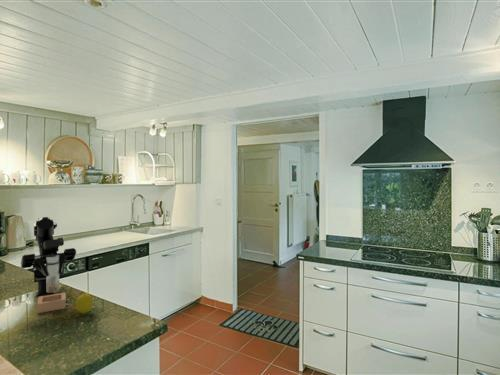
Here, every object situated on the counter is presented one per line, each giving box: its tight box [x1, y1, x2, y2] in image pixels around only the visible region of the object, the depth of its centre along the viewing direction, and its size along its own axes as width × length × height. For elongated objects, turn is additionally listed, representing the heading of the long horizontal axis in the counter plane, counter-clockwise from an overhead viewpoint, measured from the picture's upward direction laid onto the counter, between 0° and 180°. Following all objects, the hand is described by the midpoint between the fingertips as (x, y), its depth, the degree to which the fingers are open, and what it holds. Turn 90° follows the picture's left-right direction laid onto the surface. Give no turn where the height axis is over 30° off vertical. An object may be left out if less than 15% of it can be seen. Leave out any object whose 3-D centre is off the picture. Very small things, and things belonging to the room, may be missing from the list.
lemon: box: [75, 292, 94, 315], centre depth 116 cm, size 6×6×8 cm
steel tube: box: [46, 255, 60, 293], centre depth 124 cm, size 5×5×14 cm
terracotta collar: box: [36, 292, 67, 314], centre depth 124 cm, size 9×9×4 cm
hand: (53, 274), depth 123 cm, fingers closed on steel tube, 4 cm apart
